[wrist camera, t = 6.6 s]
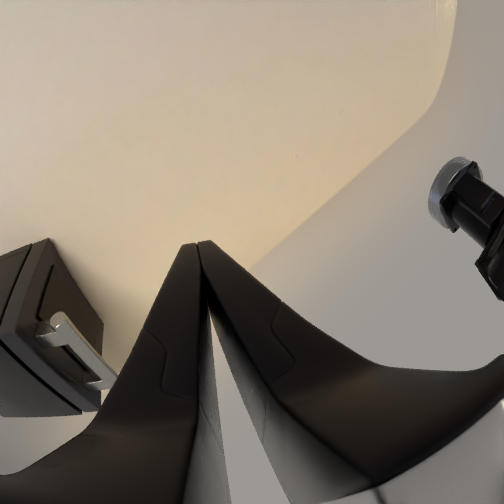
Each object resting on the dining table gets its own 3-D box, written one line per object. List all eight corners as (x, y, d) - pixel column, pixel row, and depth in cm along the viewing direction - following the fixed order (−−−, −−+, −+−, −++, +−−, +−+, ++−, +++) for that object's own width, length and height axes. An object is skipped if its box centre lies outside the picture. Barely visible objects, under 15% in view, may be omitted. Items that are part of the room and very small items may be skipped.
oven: (31, 242, 18) (-7, 338, 11) (87, 326, 24) (82, 414, 17) (-39, 273, 16) (-74, 352, 9) (16, 342, 23) (3, 417, 16)
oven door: (77, 227, 18) (48, 324, 11) (128, 318, 24) (131, 407, 18) (33, 243, 18) (-4, 336, 11) (89, 327, 24) (84, 412, 17)
